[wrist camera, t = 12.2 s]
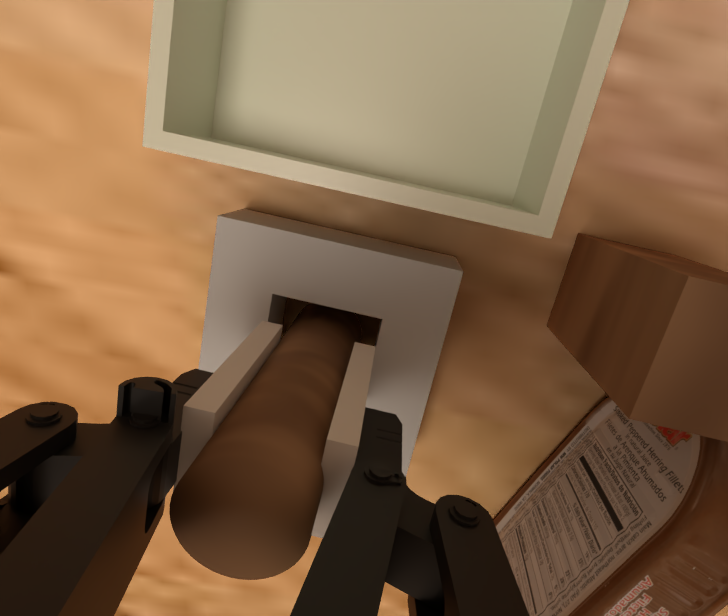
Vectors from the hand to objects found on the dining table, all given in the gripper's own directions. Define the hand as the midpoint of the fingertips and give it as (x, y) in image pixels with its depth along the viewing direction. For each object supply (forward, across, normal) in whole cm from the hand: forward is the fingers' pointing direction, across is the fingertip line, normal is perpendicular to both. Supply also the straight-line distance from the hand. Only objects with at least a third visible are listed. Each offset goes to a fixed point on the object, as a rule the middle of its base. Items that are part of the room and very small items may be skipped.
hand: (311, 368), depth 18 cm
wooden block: (+4, -11, -4) cm, 13 cm away
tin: (+4, -12, +5) cm, 13 cm away
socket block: (+4, 0, 0) cm, 4 cm away
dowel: (+4, 0, 0) cm, 4 cm away
